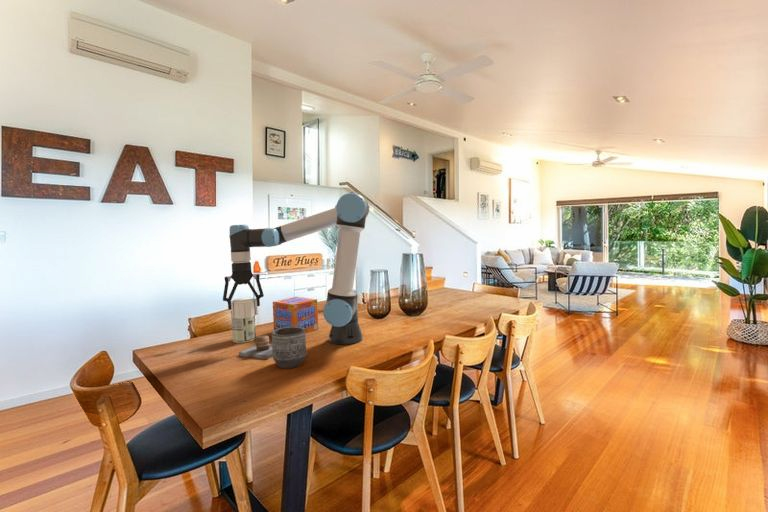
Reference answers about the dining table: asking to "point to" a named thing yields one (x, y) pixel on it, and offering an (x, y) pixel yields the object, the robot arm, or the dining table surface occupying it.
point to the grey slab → (259, 349)
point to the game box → (296, 313)
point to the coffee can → (243, 329)
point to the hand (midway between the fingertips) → (244, 315)
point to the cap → (244, 308)
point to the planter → (289, 346)
